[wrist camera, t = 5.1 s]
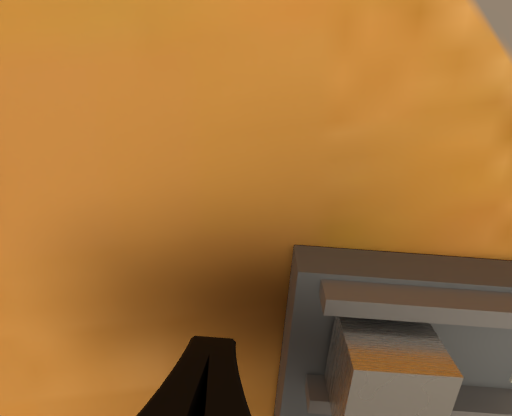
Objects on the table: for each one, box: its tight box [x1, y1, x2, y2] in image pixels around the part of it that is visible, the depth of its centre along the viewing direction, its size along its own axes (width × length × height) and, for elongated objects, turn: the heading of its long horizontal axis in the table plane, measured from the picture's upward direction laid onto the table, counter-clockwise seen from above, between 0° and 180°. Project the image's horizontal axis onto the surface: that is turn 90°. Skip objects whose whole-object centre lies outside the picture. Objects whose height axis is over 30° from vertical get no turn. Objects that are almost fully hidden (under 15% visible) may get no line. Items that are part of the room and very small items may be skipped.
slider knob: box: [324, 316, 464, 416], centre depth 12 cm, size 3×3×3 cm
